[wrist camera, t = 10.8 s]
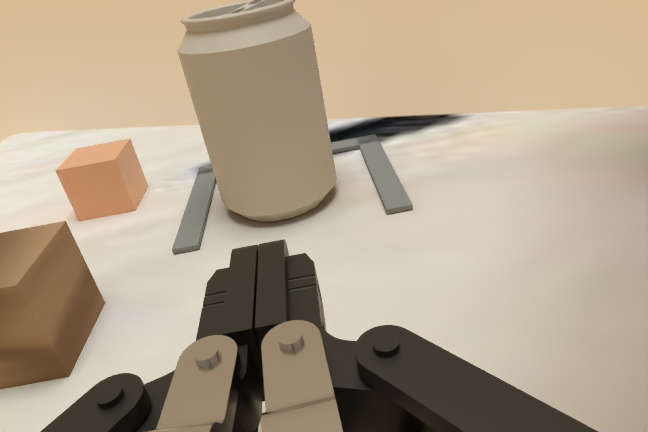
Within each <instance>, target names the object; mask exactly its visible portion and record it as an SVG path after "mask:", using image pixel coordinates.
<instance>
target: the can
mask: <svg viewBox="0 0 648 432" xmlns="http://www.w3.org/2000/svg"><path fill="white" fill-rule="evenodd" d="M294 2H295V0H246V1H241V2H236V3H231V4H226V5H222V6H217V7H214V8H209V9H205V10H202V11H198V12H195V13H192V14H189V15H187V16H185V17H184V18H183V19H182V20H181V23H183V24H184V25H185V26H186V29H187V32H186V34H185V36H184V38H183V40H182V42H181V45H180V47H179V49H178V54H179V58H180V61H181V64H182V68H183V71H184V74H185V78H186V81H187V84H188V87H189V91H190V94H191V98H192V101H193V104H194V108H195V111H196V114H197V118H198V120H199V124H200V128H201V131H202V134H203V138H204V141H205V144H206V148H207V151H208V154H209V158H210V161H211V164H212V168H213V171H214V174H215V178H216V181H217V184H218V188H219V191H220V194H221V198H222V201H223V203H224V204H225V206H226V207H227V209H229V210H232V211H234V212H236V213H238V214H241V215H242V216H244V217H246V218H248V219H250V220H256V221H278V220H283V219H288V218H292V217H295V216H298V215H301V214H303V213H306V212H308V211H309V210H311V209H313V208H314V207H316V206H317V205H318V204H319V203H321V202H322V201H323V200H324V198H325V195H326V194H327V193H328V192H329V191H330V190H331V189H332V188H333V187H334V184H335V182H336V179H337V178H336V172H335V166H334V160H333V154H332V148H331V142H330V136H329V130H328V124H327V118H326V113H325V106H324V101H323V94H322V89H321V83H320V77H319V71H318V65H317V59H316V54H315V47H314V41H313V35H312V30H311V25H310V23H309V22H308V21H307V20H306V19H305V18H303V17H302V16H301V15H300V14H299V13H298V12H296V11H295V10H294V9H293V3H294Z"/></svg>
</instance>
